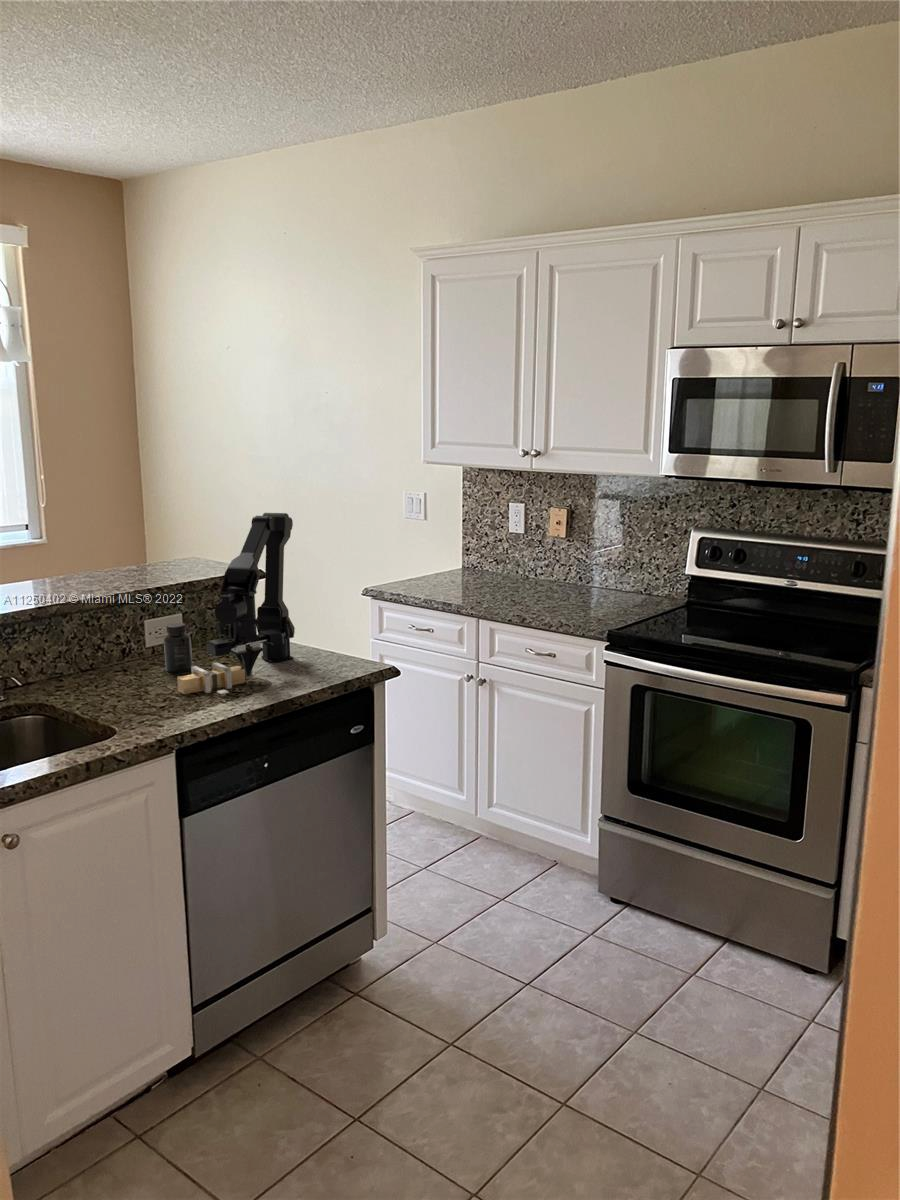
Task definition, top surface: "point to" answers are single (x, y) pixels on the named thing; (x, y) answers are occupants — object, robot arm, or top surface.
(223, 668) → the collar
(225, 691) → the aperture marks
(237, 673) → the banded wooden block
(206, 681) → the collar
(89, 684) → the top surface
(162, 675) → the top surface
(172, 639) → the supplement bottle
